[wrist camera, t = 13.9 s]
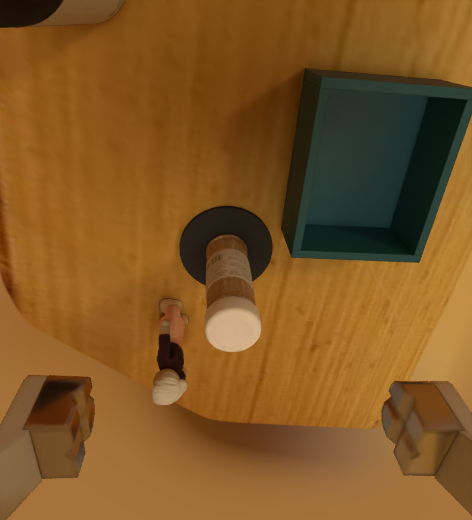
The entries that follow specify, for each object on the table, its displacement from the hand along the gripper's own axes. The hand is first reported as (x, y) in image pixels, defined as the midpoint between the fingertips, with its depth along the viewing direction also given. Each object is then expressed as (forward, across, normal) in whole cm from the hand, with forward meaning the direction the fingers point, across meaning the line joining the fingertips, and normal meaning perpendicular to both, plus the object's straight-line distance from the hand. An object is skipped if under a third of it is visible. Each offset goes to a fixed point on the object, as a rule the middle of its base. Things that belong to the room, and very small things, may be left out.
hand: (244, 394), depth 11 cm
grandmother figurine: (+31, +4, +22) cm, 38 cm away
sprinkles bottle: (+31, -2, +12) cm, 33 cm away
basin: (+31, -14, +2) cm, 34 cm away
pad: (+31, -2, +12) cm, 34 cm away
